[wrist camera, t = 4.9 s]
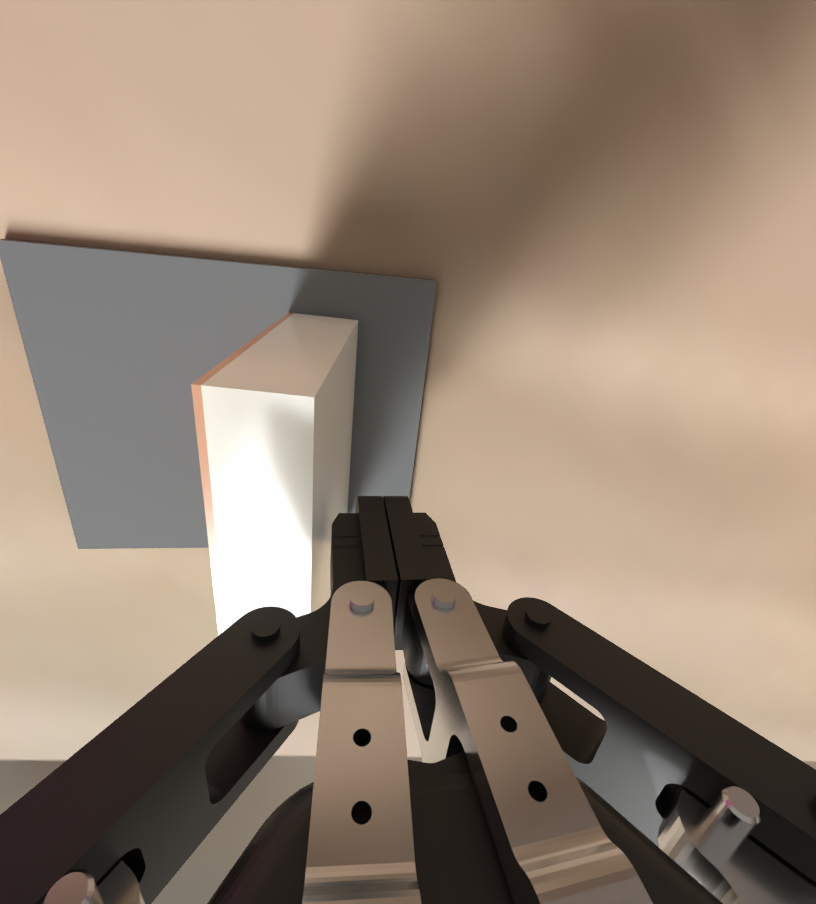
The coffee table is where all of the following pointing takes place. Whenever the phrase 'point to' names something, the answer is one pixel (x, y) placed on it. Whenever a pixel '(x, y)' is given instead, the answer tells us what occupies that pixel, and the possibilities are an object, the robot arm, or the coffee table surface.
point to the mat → (193, 373)
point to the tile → (276, 463)
